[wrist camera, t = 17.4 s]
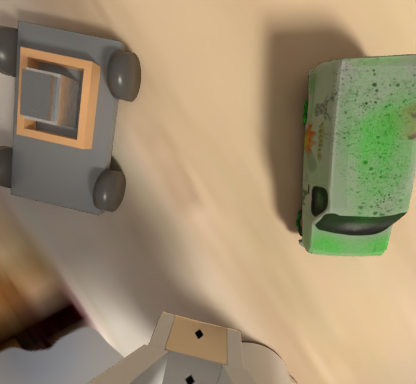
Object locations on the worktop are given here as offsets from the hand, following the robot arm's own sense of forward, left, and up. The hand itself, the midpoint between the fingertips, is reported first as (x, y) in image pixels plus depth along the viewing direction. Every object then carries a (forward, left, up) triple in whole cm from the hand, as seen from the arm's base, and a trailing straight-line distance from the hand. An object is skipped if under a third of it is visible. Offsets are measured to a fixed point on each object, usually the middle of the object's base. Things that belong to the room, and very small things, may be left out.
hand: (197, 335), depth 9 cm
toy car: (+8, -15, -30) cm, 34 cm away
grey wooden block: (+8, +24, -26) cm, 36 cm away
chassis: (+5, +24, -29) cm, 38 cm away
